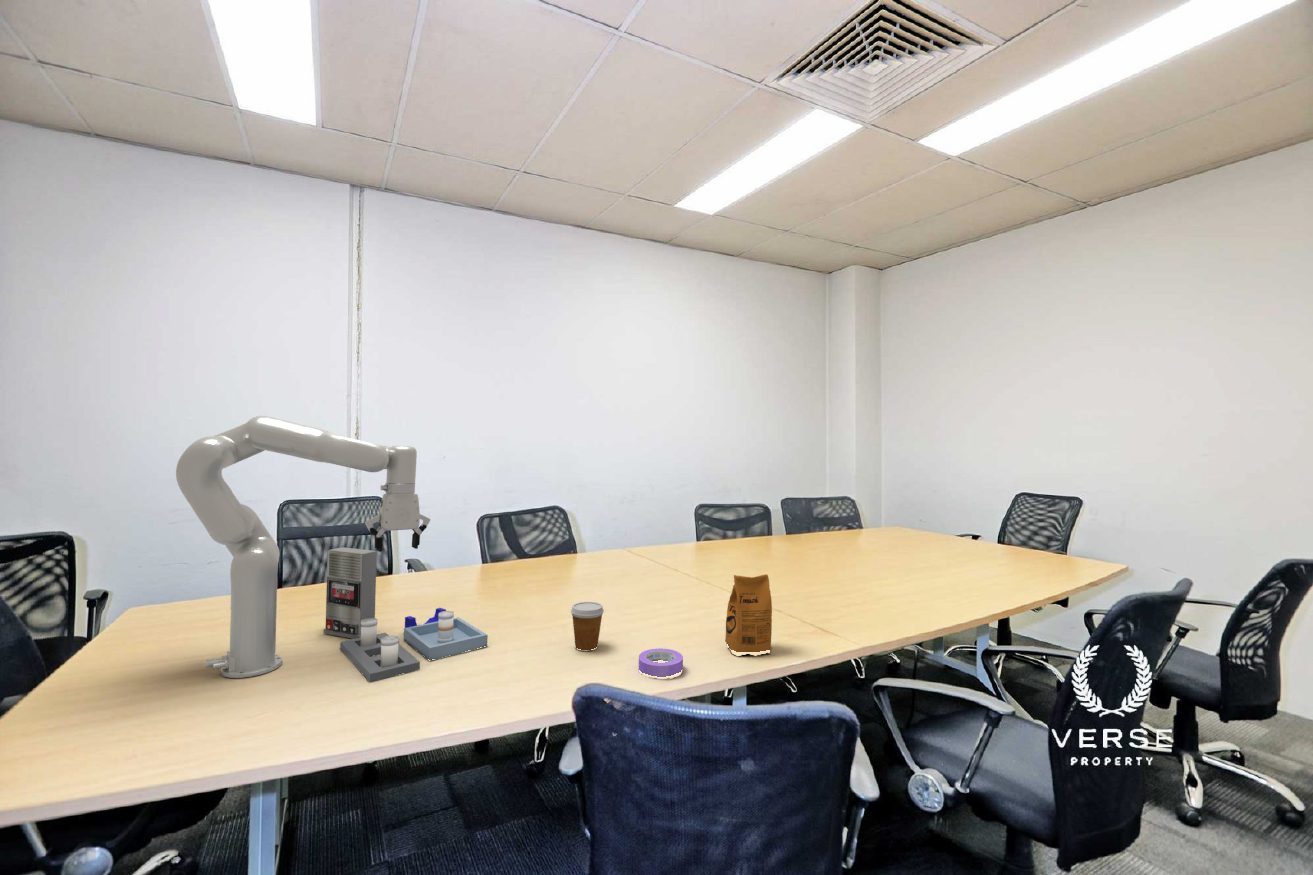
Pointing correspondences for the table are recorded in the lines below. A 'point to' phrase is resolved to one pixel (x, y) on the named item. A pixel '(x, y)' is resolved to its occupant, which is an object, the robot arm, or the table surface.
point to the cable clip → (412, 622)
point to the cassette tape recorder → (349, 590)
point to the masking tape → (657, 668)
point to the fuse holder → (377, 659)
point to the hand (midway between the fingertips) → (397, 549)
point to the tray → (428, 645)
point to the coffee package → (749, 615)
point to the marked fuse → (445, 626)
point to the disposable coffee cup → (586, 624)
